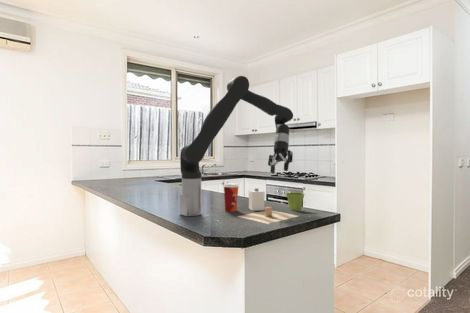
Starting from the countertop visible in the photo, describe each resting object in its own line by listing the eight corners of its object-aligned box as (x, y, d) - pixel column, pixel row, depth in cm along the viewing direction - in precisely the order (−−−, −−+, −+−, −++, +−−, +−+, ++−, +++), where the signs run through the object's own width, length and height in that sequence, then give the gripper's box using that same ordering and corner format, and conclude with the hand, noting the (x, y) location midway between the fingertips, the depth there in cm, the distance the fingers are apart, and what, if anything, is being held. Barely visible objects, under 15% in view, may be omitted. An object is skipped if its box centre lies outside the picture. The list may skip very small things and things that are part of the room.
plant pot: (297, 213, 139) (297, 195, 139) (282, 210, 146) (282, 193, 146) (308, 210, 145) (308, 193, 145) (293, 208, 152) (293, 191, 152)
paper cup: (237, 213, 137) (237, 184, 137) (221, 213, 138) (221, 184, 138) (240, 210, 144) (240, 183, 144) (225, 210, 146) (225, 182, 146)
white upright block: (252, 212, 141) (252, 189, 141) (248, 209, 147) (248, 188, 147) (264, 211, 143) (264, 189, 142) (260, 209, 149) (260, 187, 149)
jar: (268, 217, 126) (268, 208, 126) (263, 216, 129) (263, 207, 129) (273, 216, 128) (273, 207, 128) (268, 215, 131) (268, 206, 131)
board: (267, 225, 114) (267, 223, 114) (237, 218, 128) (237, 216, 128) (299, 217, 129) (299, 215, 129) (269, 211, 143) (269, 210, 143)
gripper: (266, 143, 154) (263, 171, 148) (287, 137, 144) (285, 167, 138) (275, 148, 158) (273, 176, 152) (296, 143, 148) (294, 172, 142)
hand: (279, 171), depth 145 cm, fingers open, 8 cm apart
